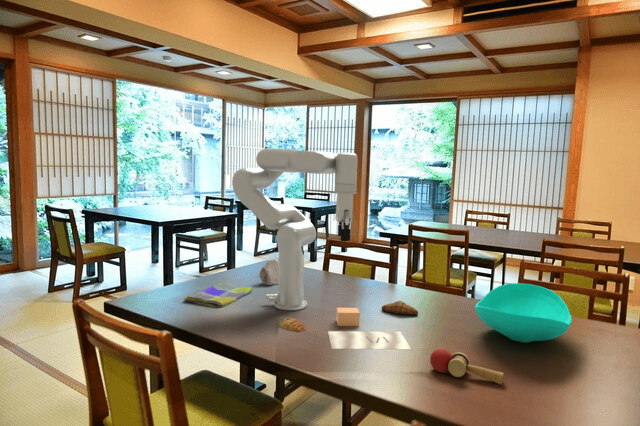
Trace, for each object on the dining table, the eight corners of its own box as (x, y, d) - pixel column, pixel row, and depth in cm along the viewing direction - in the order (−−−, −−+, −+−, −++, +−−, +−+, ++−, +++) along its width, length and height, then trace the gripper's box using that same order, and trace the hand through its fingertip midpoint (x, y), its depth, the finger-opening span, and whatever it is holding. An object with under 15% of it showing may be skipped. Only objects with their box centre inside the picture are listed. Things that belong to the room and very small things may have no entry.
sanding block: (337, 330, 141) (338, 312, 140) (336, 324, 146) (336, 307, 145) (358, 330, 141) (359, 312, 140) (356, 325, 146) (357, 307, 145)
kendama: (500, 380, 113) (431, 357, 120) (506, 360, 111) (435, 338, 118) (498, 399, 106) (425, 374, 113) (504, 378, 104) (429, 353, 111)
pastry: (311, 334, 137) (312, 322, 137) (295, 339, 133) (295, 327, 132) (292, 325, 144) (292, 314, 144) (276, 330, 139) (276, 319, 139)
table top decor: (566, 373, 115) (571, 325, 113) (460, 348, 129) (463, 305, 128) (571, 328, 148) (574, 290, 147) (486, 312, 163) (489, 278, 161)
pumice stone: (268, 287, 188) (268, 264, 187) (256, 284, 193) (256, 262, 192) (291, 280, 200) (291, 259, 199) (279, 277, 205) (279, 257, 204)
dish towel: (254, 293, 180) (254, 286, 180) (219, 310, 158) (219, 302, 158) (220, 287, 187) (220, 281, 187) (181, 303, 165) (181, 295, 165)
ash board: (331, 353, 123) (331, 348, 122) (327, 335, 136) (328, 331, 135) (411, 354, 124) (411, 348, 124) (400, 336, 137) (400, 331, 137)
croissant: (379, 314, 158) (380, 300, 158) (383, 308, 165) (383, 295, 164) (416, 319, 154) (417, 305, 153) (419, 313, 160) (419, 300, 160)
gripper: (332, 187, 157) (330, 234, 159) (337, 190, 140) (335, 242, 141) (352, 188, 157) (351, 234, 159) (360, 190, 140) (358, 242, 142)
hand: (343, 238), depth 150 cm, fingers open, 9 cm apart
